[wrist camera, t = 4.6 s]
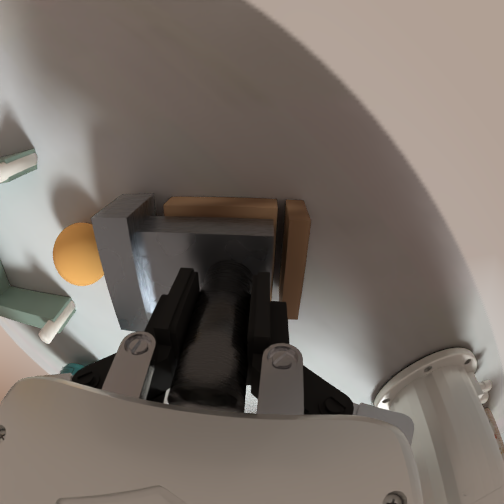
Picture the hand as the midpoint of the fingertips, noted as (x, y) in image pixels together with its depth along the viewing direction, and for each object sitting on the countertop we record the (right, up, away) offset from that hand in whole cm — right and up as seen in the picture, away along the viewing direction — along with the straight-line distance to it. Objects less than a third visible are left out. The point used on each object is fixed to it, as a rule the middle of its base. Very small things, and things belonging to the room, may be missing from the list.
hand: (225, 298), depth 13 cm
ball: (-10, +2, +3) cm, 10 cm away
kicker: (-2, +2, +4) cm, 5 cm away
